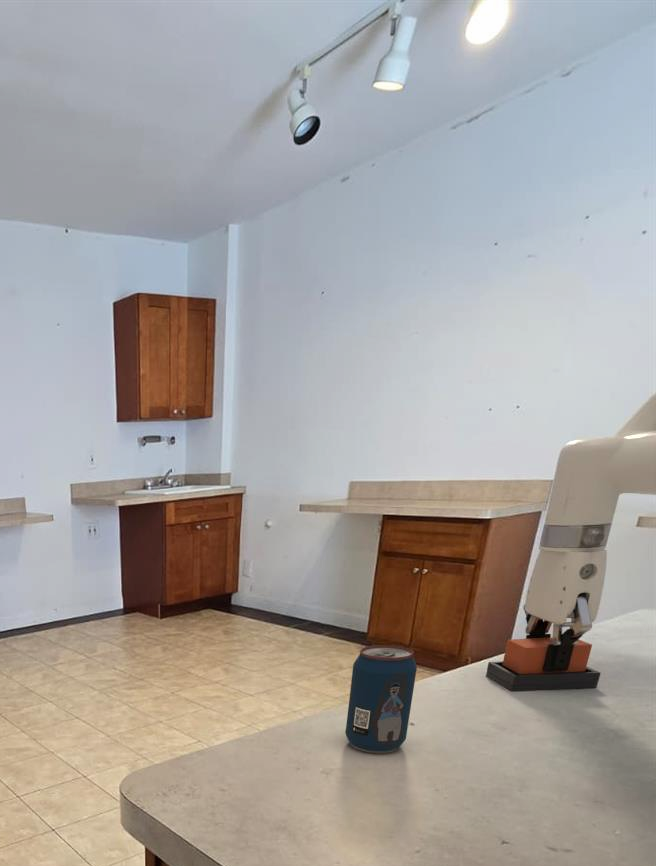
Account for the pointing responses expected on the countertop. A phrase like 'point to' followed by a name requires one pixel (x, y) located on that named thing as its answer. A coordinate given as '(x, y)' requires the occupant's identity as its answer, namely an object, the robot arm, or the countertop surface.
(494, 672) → the black rectangular tray
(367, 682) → the soda can
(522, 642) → the red brick
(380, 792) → the countertop surface
